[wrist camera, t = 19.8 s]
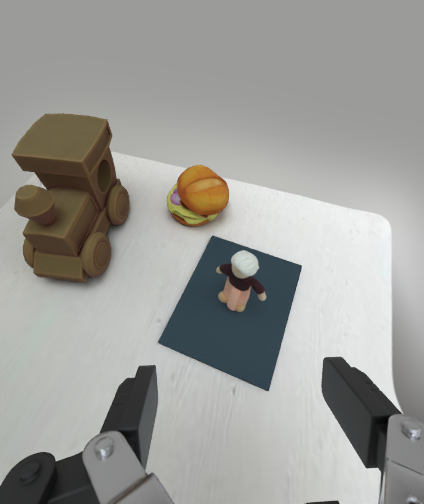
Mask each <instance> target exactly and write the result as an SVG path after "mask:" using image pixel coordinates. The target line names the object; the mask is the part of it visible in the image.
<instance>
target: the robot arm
mask: <svg viewBox="0 0 424 504" xmlns="http://www.w3.org/2000/svg"><path fill="white" fill-rule="evenodd" d="M321 387H322V394H323V397H324V399H325V401H326V403H327V405H328V406H329V408H330V409H331V411H332V413H333V414H334V416H335V418H336V419H337V421H338V423H339V424H340V426H341V428H342V429H343V431H344V432H345V434H346V436H347V437H348V439H349V441H350V442H351V444H352V446H353V447H354V449H355V451H356V452H357V454H358V456H359V457H360V459H361V460H362V462H363V464H364V465H365V467H366V468H379V470H380V471H381V479H380V490H379V502H378V504H424V423H423V422H421V421H420V420H418V419H416V418H413V417H411V416H408V415H403V414H402V413H401V412H400V411H399V410H398V409H397V408H396V407H395V406H394V405H393V403H392V402H391V401H390V400H389V399H388V398H387V397H386V396H385V395H384V394H383V393H382V391H380V390H379V388H378V387H377V386H376V385H375V384H373V382H372V381H371V380H370V378H369V377H368V376H367V375H366V374H365V373H363V372H361V371H360V370H358V369H357V368H355V367H350V365H349V364H348V363H347V362H346V361H345V360H344V359H343V358H342V357H325V358H324V360H323V371H322V386H321ZM157 405H158V389H157V376H156V366H155V365H149V366H139V367H138V370H137V373H136V376H135V378H127V379H126V380H125V381H124V382H123V383H122V384H121V385H120V386H119V387H118V390H117V392H116V395H115V397H114V400H113V402H112V405H111V407H110V409H109V412H108V414H107V417H106V419H105V421H104V424H103V426H102V429H101V431H100V434H98V435H97V436H95V437H94V438H92V439H91V440H90V441H89V442H88V443H87V445H86V446H85V448H84V450H83V451H82V452H81V453H79V454H76V455H74V456H71V457H68V458H65V459H62V460H59V461H55V457H54V456H53V455H52V454H50V453H47V452H40V453H36V454H33V455H30V456H28V457H26V458H24V459H23V460H21V461H20V462H19V463H17V464H16V465H15V466H14V467H13V468H12V469H11V470H10V472H9V473H8V474H7V476H6V478H5V479H4V481H3V482H2V484H1V486H0V504H174V502H173V501H172V499H171V498H170V496H169V495H168V493H167V492H166V490H165V488H164V487H163V485H162V484H161V482H160V481H159V479H158V478H157V476H156V475H155V474H154V473H151V474H149V475H148V474H147V473H146V472H145V469H146V464H147V459H148V454H149V449H150V443H151V438H152V433H153V428H154V422H155V417H156V412H157ZM306 504H339V502H338V501H325V502H311V503H306Z"/></svg>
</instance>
